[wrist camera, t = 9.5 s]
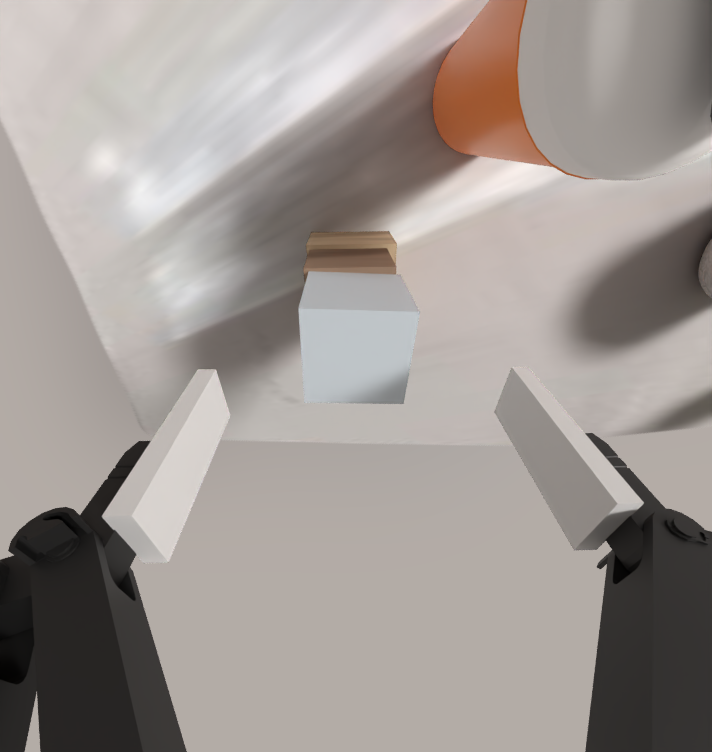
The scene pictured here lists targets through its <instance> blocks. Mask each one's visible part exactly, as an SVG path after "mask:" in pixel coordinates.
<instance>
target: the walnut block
mask: <svg viewBox="0 0 712 752" xmlns="http://www.w3.org/2000/svg"><path fill="white" fill-rule="evenodd" d="M303 271H304V280H305V283H306V279H307V276H308V272H309V271H316V272H344V273H371V274H396V265H395V263H394V261H393V259H392V257H391V255H390V253H389V251H388V249H387V248H364V249H319V250H309V253H308V256H307V259H306V262H305V265H304V268H303Z"/></svg>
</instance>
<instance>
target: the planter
mask: <svg viewBox="0 0 712 752" xmlns="http://www.w3.org/2000/svg"><path fill="white" fill-rule="evenodd" d="M699 281H700V285H701V287H702V288H703V290H704V291H705V293H706V294H707V295H708V296H709V297H711V298H712V238H711V240H710V241H709V243H708V245H707V247H706V248H705V251H704V253H703V255H702V258H701V261H700V265H699Z"/></svg>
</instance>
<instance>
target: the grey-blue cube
mask: <svg viewBox="0 0 712 752" xmlns="http://www.w3.org/2000/svg"><path fill="white" fill-rule="evenodd" d="M298 311H299V326H300V342H301V357H302V373H303V389H304V403H372V404H403V403H404V398H405V392H406V387H407V381H408V376H409V370H410V365H411V359H412V353H413V348H414V342H415V337H416V331H417V326H418V320H419V315H420V311H419V309H418V307H417V305H416V303H415V301H414V299H413V297H412V296H411V294H410V292H409V290H408V288H407V286H406V284H405V282H404V280H403V278H402V276H401V275H399V274H371V273H344V272H316V271H309V272H308V276H307V279H306V283H305V286H304V290H303V294H302V297H301V301H300V304H299V308H298Z"/></svg>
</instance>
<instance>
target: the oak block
mask: <svg viewBox="0 0 712 752" xmlns="http://www.w3.org/2000/svg"><path fill="white" fill-rule="evenodd" d="M364 248H387V249H388V251H389V253H390V255H391V257H392V259H393V261H394V263H395V264H396V249H397V243H396V242H395V240H394V238H393V237H392V235H391V234H390V232H389V231H374V232H311V234H310V237H309V239H308V242H307V244H306V249H307V256H308V253H309V250H319V249H364Z"/></svg>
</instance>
